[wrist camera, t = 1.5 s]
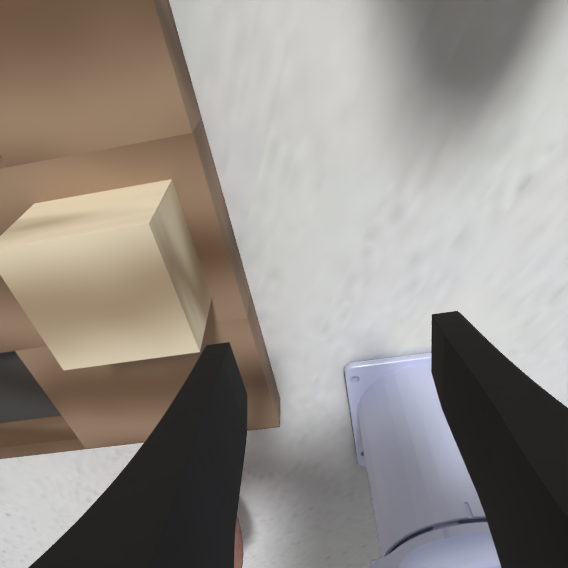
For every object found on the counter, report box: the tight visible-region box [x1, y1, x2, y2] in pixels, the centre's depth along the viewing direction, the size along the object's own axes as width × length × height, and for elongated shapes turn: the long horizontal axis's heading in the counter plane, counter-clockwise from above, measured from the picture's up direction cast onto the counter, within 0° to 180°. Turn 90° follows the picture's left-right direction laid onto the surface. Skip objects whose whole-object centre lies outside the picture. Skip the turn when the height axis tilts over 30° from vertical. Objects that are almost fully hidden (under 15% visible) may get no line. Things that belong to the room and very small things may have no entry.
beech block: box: [0, 179, 212, 370], centre depth 17 cm, size 6×6×4 cm
